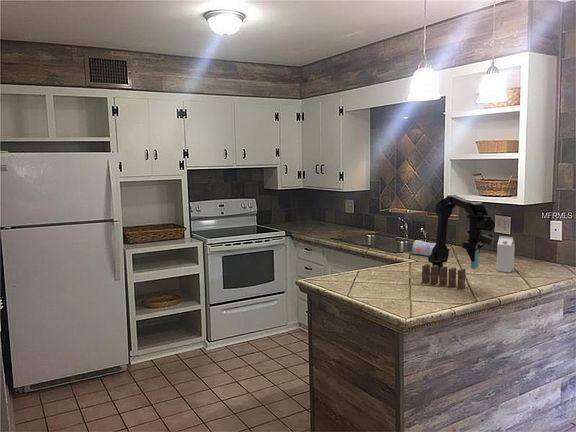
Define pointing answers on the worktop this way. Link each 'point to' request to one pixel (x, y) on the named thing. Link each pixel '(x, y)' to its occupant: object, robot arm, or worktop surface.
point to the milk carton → (505, 254)
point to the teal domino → (476, 261)
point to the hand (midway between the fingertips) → (474, 260)
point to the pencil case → (422, 248)
